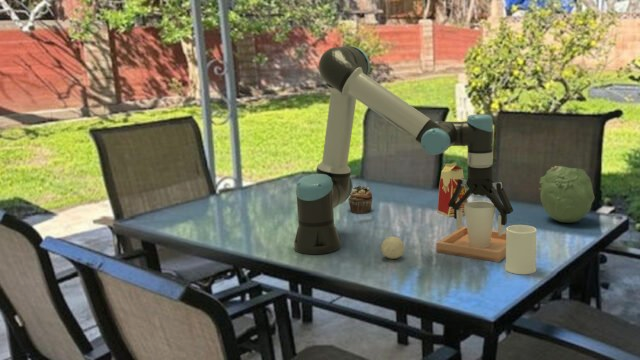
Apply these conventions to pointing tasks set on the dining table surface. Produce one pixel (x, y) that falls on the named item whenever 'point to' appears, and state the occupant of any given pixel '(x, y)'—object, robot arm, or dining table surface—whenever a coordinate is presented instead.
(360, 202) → the cupcake
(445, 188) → the milk carton
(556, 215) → the cabbage
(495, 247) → the tray
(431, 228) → the dining table surface
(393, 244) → the beige ball
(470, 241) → the foam cup
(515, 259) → the mug
